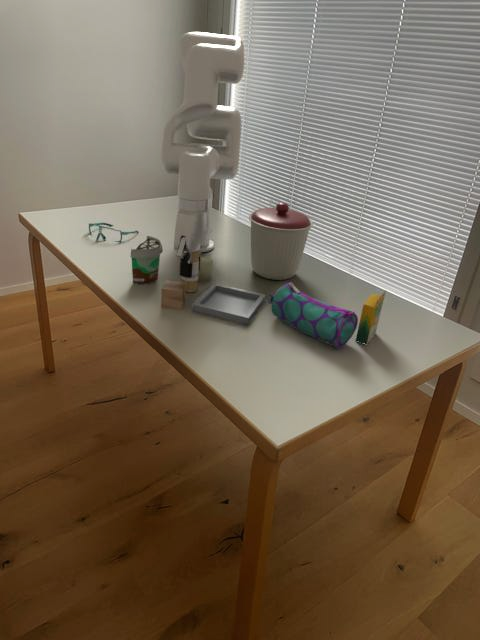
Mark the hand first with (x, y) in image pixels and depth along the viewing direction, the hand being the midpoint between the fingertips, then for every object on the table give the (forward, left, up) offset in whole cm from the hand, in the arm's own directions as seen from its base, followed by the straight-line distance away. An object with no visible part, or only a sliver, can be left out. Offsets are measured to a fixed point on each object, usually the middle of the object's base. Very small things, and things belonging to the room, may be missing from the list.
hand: (189, 272), depth 130 cm
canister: (-23, +17, -5) cm, 29 cm away
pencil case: (+7, +34, -5) cm, 35 cm away
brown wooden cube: (+9, 0, -5) cm, 11 cm away
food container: (-1, -12, -5) cm, 13 cm away
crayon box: (+3, +47, -5) cm, 47 cm away
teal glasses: (-26, -39, -5) cm, 47 cm away
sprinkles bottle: (0, 0, -5) cm, 5 cm away
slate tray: (+4, +13, -5) cm, 14 cm away
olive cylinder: (-10, 0, -5) cm, 11 cm away
